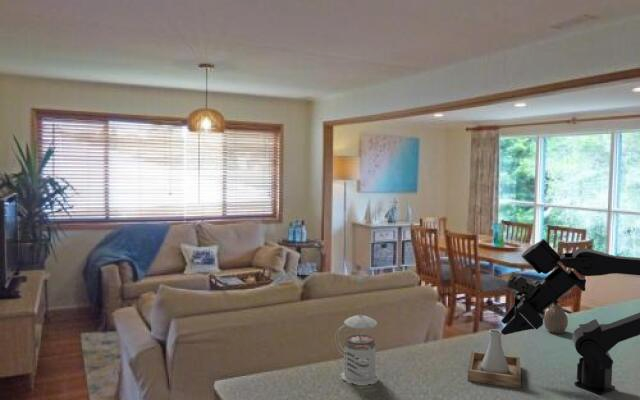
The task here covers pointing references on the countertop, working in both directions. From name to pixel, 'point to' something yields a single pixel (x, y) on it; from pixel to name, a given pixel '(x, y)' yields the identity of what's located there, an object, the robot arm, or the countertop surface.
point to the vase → (555, 319)
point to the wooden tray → (495, 378)
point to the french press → (361, 369)
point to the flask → (495, 355)
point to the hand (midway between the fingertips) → (502, 327)
